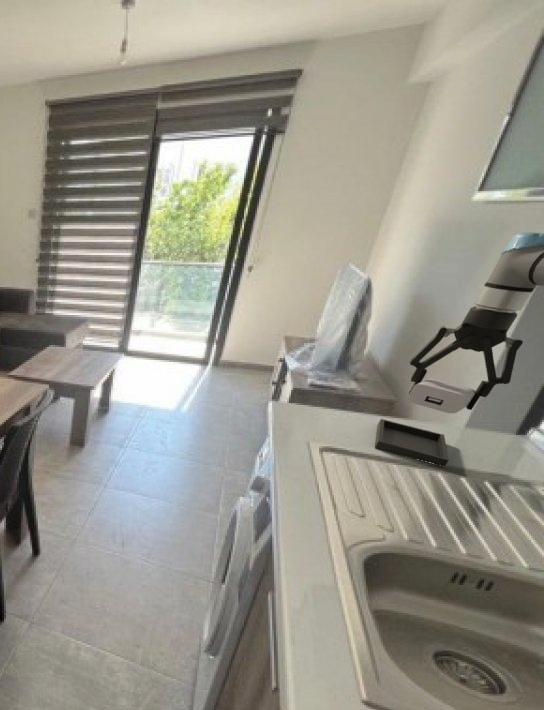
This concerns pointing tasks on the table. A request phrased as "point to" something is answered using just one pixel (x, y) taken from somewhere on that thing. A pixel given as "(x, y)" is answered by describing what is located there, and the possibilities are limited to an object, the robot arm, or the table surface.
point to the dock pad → (411, 442)
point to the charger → (441, 395)
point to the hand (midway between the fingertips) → (438, 401)
